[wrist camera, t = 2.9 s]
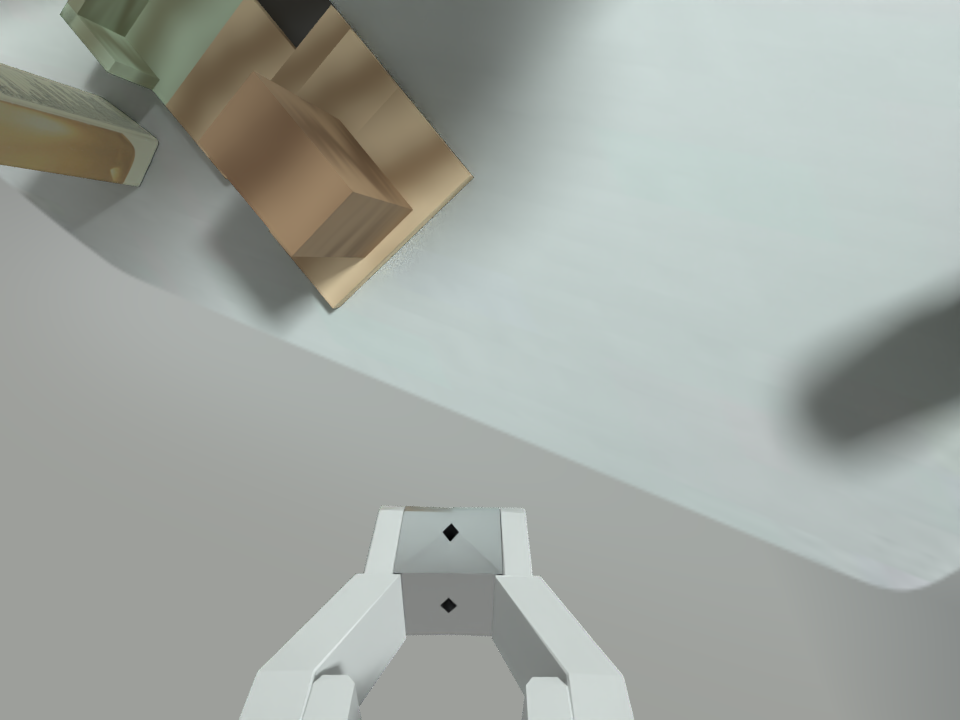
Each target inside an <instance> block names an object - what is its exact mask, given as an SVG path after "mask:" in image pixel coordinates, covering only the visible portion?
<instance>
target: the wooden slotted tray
mask: <svg viewBox="0 0 960 720" xmlns="http://www.w3.org/2000/svg"><path fill="white" fill-rule="evenodd" d="M60 15H61V17H62V18H63V19H64V20H65V21H66V23H67V24H68V25H69V26H70V28H71V29H72V30H73V31H74V32H75V34H76V35H77V36H78V37H79V38H80V40H81V41H82V42H83V43H84V44H85V46H86V47H87V48H88V49H89V50H90V52H91V53H92V54H93V55H94V57H95V58H96V59H97V60H98V61H99V63H100V64H101V65H102V66H103V67H104V69H105V70H106V71H107V72H108V73H110V74H113V75H115V76H118V77H120V78H123V79H125V80H128V81H131V82H133V83H136V84H138V85H141V86H143V87H146V88H148V89H151V90H153V91H154V93H155V94H156V95H157V96H158V97H159V99H160V100H161V101H162V102H163V104H164V105H165V106H166V107H167V108H168V110H169V111H170V112H171V113H172V114H173V116H174V117H175V118H176V119H177V120H178V122H179V123H180V124H181V125H182V127H183V128H184V129H185V130H186V131H187V133H188V134H189V135H190V136H191V137H192V139H193V140H194V141H195V142H196V143H197V145H198V146H199V147H200V148H201V149H202V147H201V146H200V145H199V144H198V141H199V139H200V138H201V137H202V136H203V134H204V133H205V132H206V130H207V129H208V128H209V127H210V125H211V124H212V123H213V122H214V120H215V119H216V118H217V116H218V115H219V114H220V113H221V111H222V110H223V109H224V107H225V106H226V105H227V104H228V102H229V101H230V100H231V98H232V97H233V96H234V95H235V93H236V92H237V91H238V89H239V88H240V87H241V86H242V84H243V83H244V82H245V81H246V79H247V78H248V77H249V75H250V74H251V73H252V72H253V71H255V72H256V73H258V74H260V75H262V76H264V77H265V78H267V79H269V80H271V81H272V82H274V83H276V84H278V85H279V86H281V87H283V88H285V89H286V90H288V91H290V92H292V93H293V94H295V95H297V96H299V97H300V98H302V99H304V100H306V101H307V102H309V103H311V104H313V105H314V106H316V107H318V108H320V109H321V110H323V111H325V112H327V113H328V114H330V115H332V116H334V117H335V118H337V119H339V120H340V121H341V122H342V124H343V125H344V126H345V127H346V128H347V130H348V131H349V132H350V133H351V134H352V136H353V137H354V138H355V139H356V141H357V142H358V143H359V144H360V145H361V147H362V148H363V149H364V150H365V152H366V153H367V154H368V155H369V156H370V158H371V159H372V160H373V161H374V163H375V164H376V165H377V166H378V167H379V169H380V170H381V171H382V172H383V173H384V175H385V176H386V177H387V178H388V180H389V181H390V182H391V183H392V184H393V186H394V187H395V188H396V189H397V191H398V192H399V193H400V194H401V195H402V197H403V198H404V199H405V200H406V201H407V203H408V204H409V205H410V206H411V208H412V209H413V211H412V212H411V213H410V214H409V215H407V216H406V217H405V218H404V219H403V220H402V221H401V222H400V223H399V224H398V225H397V226H396V227H395V228H394V229H393V230H392V231H391V232H390V233H389V234H388V235H387V236H386V237H385V238H384V239H383V240H382V241H381V242H380V243H379V244H378V245H377V246H376V247H375V248H374V249H373V250H372V251H371V252H370V253H369V254H368V255H367V256H366V257H365V258H348V257H293V256H291V255H290V254H289V253H288V251H287V250H286V249H285V248H284V246H283V245H282V244H281V243H280V242H279V240H278V239H277V238H276V237H275V236H274V234H273V233H272V232H271V231H270V230H269V232H270V233H271V234H272V235H273V237H274V238H275V239H276V240H277V241H278V243H279V244H280V245H281V246H282V247H283V249H284V250H285V251H286V252H287V254H288V255H289V256H290V257H291V258H292V260H293V261H294V262H295V263H296V264H297V266H298V267H299V268H300V269H301V270H302V272H303V273H304V274H305V275H306V276H307V278H308V279H309V280H310V281H311V283H312V284H313V285H314V286H315V287H316V289H317V290H318V291H319V292H320V293H321V295H322V296H323V297H324V298H325V299H326V301H327V302H328V303H329V304H330V306H331V307H332V308H338V307H340V306H341V305H342V304H343V303H344V302H345V301H347V300H348V299H349V298H350V297H351V296H352V295H353V294H354V293H355V292H356V291H357V290H358V289H359V288H360V287H361V286H362V285H363V284H364V283H365V282H366V281H367V280H368V279H369V278H370V277H371V276H372V275H373V274H374V273H375V272H376V271H378V270H379V269H380V268H381V267H382V266H383V265H384V264H385V263H386V262H387V261H388V260H389V259H390V258H391V257H392V256H393V255H394V254H395V253H396V252H397V251H398V250H399V249H400V248H401V247H402V246H403V245H404V244H405V243H406V242H408V241H409V240H410V239H411V238H412V237H413V236H414V235H415V234H416V233H417V232H418V231H419V230H420V229H421V228H422V227H423V226H424V225H425V224H426V223H427V222H428V221H429V220H430V219H431V218H432V217H433V216H434V215H435V214H436V213H437V212H439V211H440V210H441V209H442V208H443V207H444V206H445V205H446V204H447V203H448V202H449V201H450V200H451V199H452V198H453V197H454V196H455V195H456V194H457V193H458V192H459V191H460V190H461V189H462V188H463V187H464V186H465V185H466V184H467V183H469V182H470V181H471V180H472V179H473V178H474V177H473V176H472V175H471V174H470V172H469V171H468V170H467V169H466V167H465V166H464V165H463V164H462V163H461V161H460V160H459V159H458V158H457V156H456V155H455V154H454V153H453V152H452V150H451V149H450V148H449V147H448V145H447V144H446V143H445V142H444V140H443V139H442V138H441V137H440V136H439V134H438V133H437V132H436V131H435V129H434V128H433V127H432V126H431V125H430V123H429V122H428V121H427V120H426V118H425V117H424V116H423V115H422V114H421V112H420V111H419V110H418V109H417V107H416V106H415V105H414V104H413V103H412V101H411V100H410V99H409V98H408V96H407V95H406V94H405V93H404V92H403V90H402V89H401V88H400V87H399V85H398V84H397V83H396V82H395V81H394V79H393V78H392V77H391V76H390V74H389V73H388V72H387V71H386V70H385V68H384V67H383V66H382V65H381V63H380V62H379V61H378V60H377V59H376V57H375V56H374V55H373V54H372V52H371V51H370V50H369V49H368V48H367V46H366V45H365V44H364V43H363V41H362V40H361V39H360V38H359V37H358V35H357V34H356V33H355V32H354V30H353V29H352V28H351V27H350V25H349V24H348V23H347V22H346V21H345V19H344V18H343V17H342V16H341V14H340V13H339V12H338V11H337V10H336V8H335V7H334V6H333V5H332V3H331V2H330V1H329V0H68V2H67V4H66V5H65V7H64V8H63V10H62V12H61V13H60ZM202 151H203V152H204V153H205V154H206V156H207V157H208V158H209V159H210V160H211V162H212V163H213V164H214V165H215V166H216V168H217V169H218V170H219V171H220V172H221V174H222V175H223V176H224V177H225V179H227V178H226V176H225V175H224V174H223V173H222V171H221V170H220V169H219V168H218V167H217V165H216V164H215V163H214V162H213V161H212V159H211V158H210V157H209V156H208V155H207V153H206V152H205V151H204V150H203V149H202Z"/></svg>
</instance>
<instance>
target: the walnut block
mask: <svg viewBox="0 0 960 720" xmlns="http://www.w3.org/2000/svg"><path fill="white" fill-rule="evenodd" d="M198 144H199V145H200V146H201V147H202V149H203V150H204V151H205V152H206V153H207V155H208V156H209V157H210V158H211V159H212V161H213V162H214V163H215V164H216V165H217V167H218V168H219V169H220V170H221V171H222V173H223V174H224V175H225V176H226V178H227V179H228V180H229V181H230V182H231V184H232V185H233V186H234V187H235V188H236V190H237V191H238V192H239V193H240V194H241V196H242V197H243V198H244V199H245V201H246V202H247V203H248V204H249V205H250V207H251V208H252V209H253V210H254V211H255V213H256V214H257V215H258V216H259V217H260V219H261V220H262V221H263V222H264V224H265V225H266V226H267V227H268V228H269V230H270V231H271V232H272V233H273V234H274V236H275V237H276V238H277V239H278V240H279V242H280V243H281V244H282V245H283V246H284V248H285V249H286V250H287V251H288V253H289V254H290V255H291V256H293V257H348V258H365V257H366V256H367V255H368V254H369V253H370V252H371V251H372V250H373V249H374V248H375V247H376V246H377V245H378V244H379V243H380V242H381V241H382V240H383V239H384V238H385V237H386V236H387V235H388V234H389V233H390V232H391V231H392V230H393V229H394V228H395V227H396V226H397V225H398V224H399V223H400V222H401V221H402V220H403V219H404V218H405V217H406V216H407V215H409V214H410V213H411V212H412V211H413V209H412V208H411V206H410V205H409V204H408V203H407V201H406V200H405V199H404V198H403V197H402V195H401V194H400V193H399V192H398V191H397V189H396V188H395V187H394V186H393V184H392V183H391V182H390V181H389V180H388V178H387V177H386V176H385V175H384V173H383V172H382V171H381V170H380V169H379V167H378V166H377V165H376V164H375V163H374V161H373V160H372V159H371V158H370V156H369V155H368V154H367V153H366V152H365V150H364V149H363V148H362V147H361V145H360V144H359V143H358V142H357V141H356V139H355V138H354V137H353V136H352V134H351V133H350V132H349V131H348V130H347V128H346V127H345V126H344V125H343V124H342V122H341V121H340V120H339V119H337V118H335V117H334V116H332V115H330V114H328V113H327V112H325V111H323V110H321V109H320V108H318V107H316V106H314V105H313V104H311V103H309V102H307V101H306V100H304V99H302V98H300V97H299V96H297V95H295V94H293V93H292V92H290V91H288V90H286V89H285V88H283V87H281V86H279V85H278V84H276V83H274V82H272V81H271V80H269V79H267V78H265V77H264V76H262V75H260V74H258V73H256V72H255V71H253V72H252V73H251V74H250V75H249V77H248V78H247V79H246V81H245V82H244V83H243V84H242V86H241V87H240V88H239V89H238V91H237V92H236V93H235V95H234V96H233V97H232V98H231V100H230V101H229V102H228V104H227V105H226V106H225V107H224V109H223V110H222V111H221V113H220V114H219V115H218V116H217V118H216V119H215V120H214V122H213V123H212V124H211V125H210V127H209V128H208V129H207V130H206V132H205V133H204V134H203V136H202V137H201V138H200V139H199V141H198Z"/></svg>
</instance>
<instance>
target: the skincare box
mask: <svg viewBox="0 0 960 720" xmlns="http://www.w3.org/2000/svg"><path fill="white" fill-rule="evenodd" d="M157 146H158V140H157V139H156V138H155V137H154V136H152V135H151V134H150V133H149V132H147V131H146V130H145V129H144V128H142V127H141V126H140V125H139V124H137V123H136V122H135V121H133V120H132V119H131V118H129V117H128V116H127V115H125V114H124V113H123V112H121V111H120V110H119V109H117V108H116V107H115V106H113V105H112V104H110V103H109V102H108V101H106V100H105V99H103V98H102V97H100V96H97V95H94V94H91V93H88V92H85V91H82V90H79V89H76V88H73V87H70V86H67V85H64V84H61V83H58V82H55V81H52V80H49V79H46V78H43V77H40V76H37V75H34V74H31V73H29V72H26V71H23V70H19V69H17V68H14V67H11V66H8V65H5V64H2V63H0V165H7V166H13V167H20V168H25V169H32V170H38V171H44V172H51V173H57V174H63V175H69V176H75V177H82V178H88V179H94V180H100V181H106V182H112V183H119V184H124V185H131V186H140V183H141V181H142V179H143V177H144V175H145V173H146V171H147V169H148V166H149V164H150V162H151V160H152V157H153V155H154V152H155V150H156V148H157Z"/></svg>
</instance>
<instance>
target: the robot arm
mask: <svg viewBox="0 0 960 720" xmlns="http://www.w3.org/2000/svg"><path fill="white" fill-rule="evenodd" d="M448 634H449V635H473V636H492V639H493V641H494V643H495V645H496V647H497V648H498V650H499V652H500V654H501V655H502V657H503V659H504V661H505V662H506V664H507V666H508V668H509V670H510V671H511V673H512V675H513V677H514V678H515V680H516V682H517V684H518V685H519V687H520V689H521V691H522V692H523V694H524V704H523V712H522V720H634V717H633V713H632V709H631V705H630V701H629V697H628V693H627V688H626V685H625V681H624V676H623V675H622V674H621V673H620V671H619V670H618V669H617V668H616V667H615V665H614V664H613V663H612V662H611V661H610V659H609V658H608V657H607V656H606V655H605V653H604V652H603V651H602V650H601V649H600V647H599V646H598V645H597V644H596V643H595V642H594V640H593V639H592V638H591V637H590V635H589V634H588V633H587V632H586V631H585V629H584V628H583V627H582V626H581V625H580V624H579V622H578V621H577V620H576V619H575V617H574V616H573V615H572V614H571V613H570V612H569V610H568V609H567V608H566V607H565V605H564V604H563V603H562V602H561V601H560V599H559V598H558V597H557V596H556V595H555V593H554V592H553V591H552V590H551V589H550V587H549V586H548V585H547V584H546V583H545V581H544V580H543V579H542V578H541V576H533V574H532V566H531V556H530V547H529V538H528V530H527V521H526V512H525V510H524V508H500V509H499V508H454V507H453V508H440V507H439V508H437V507H413V506H406V507H403V506H381V507H380V509H379V511H378V515H377V518H376V522H375V527H374V531H373V535H372V539H371V543H370V547H369V551H368V555H367V560H366V564H365V568H364V572H363V574H355V575H354V576H353V577H352V578H351V579H350V580H349V581H348V582H347V583H346V584H345V585H344V586H343V587H342V588H341V589H340V590H339V591H338V592H337V593H336V594H335V595H334V596H333V597H332V598H331V599H330V600H329V601H328V602H327V603H326V604H325V605H324V606H323V607H322V608H321V609H320V610H319V611H318V612H317V613H316V614H315V615H314V616H313V617H312V618H311V619H310V620H309V621H308V622H307V623H306V624H305V625H304V626H303V627H302V628H301V629H300V630H299V631H298V632H297V633H296V634H294V636H292V638H291V639H290V640H288V642H287V643H285V645H283V646H282V648H280V650H279V651H278V652H277V653H276V654H274V655H273V656H272V657H271V659H269V660H268V661H267V662H266V663H265V664H264V666H262V668H260V669H259V670H258V672H257V675H256V677H255V679H254V682H253V685H252V687H251V690H250V692H249V695H248V697H247V700H246V703H245V705H244V708H243V711H242V713H241V715H240V718H239V720H361V715H360V709H359V706H360V705H361V703H362V702H363V700H364V699H365V698H366V696H367V695H368V693H369V692H370V690H371V689H372V687H373V686H374V684H375V683H376V681H377V680H378V679H379V677H380V676H381V674H382V673H383V671H384V670H385V668H386V667H387V665H388V664H389V662H390V661H391V660H392V658H393V657H394V655H395V654H396V652H397V651H398V649H399V648H400V646H401V645H402V644H403V642H404V640H405V639H406V635H448Z"/></svg>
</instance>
